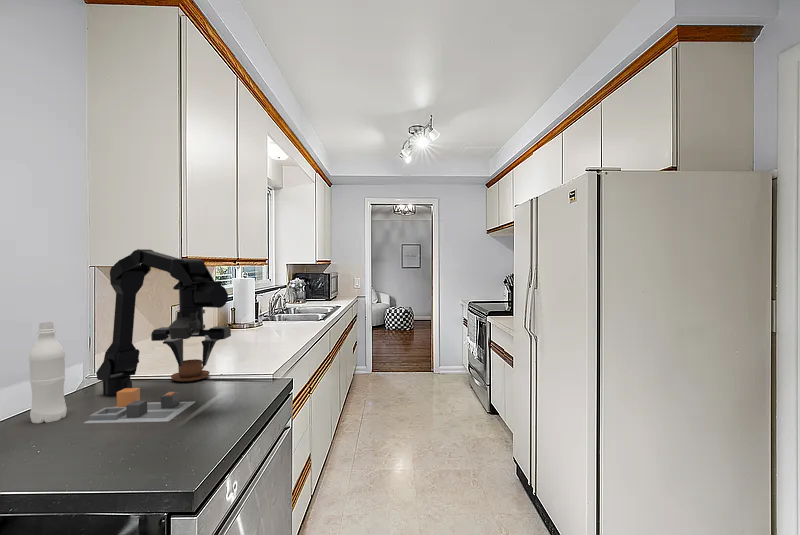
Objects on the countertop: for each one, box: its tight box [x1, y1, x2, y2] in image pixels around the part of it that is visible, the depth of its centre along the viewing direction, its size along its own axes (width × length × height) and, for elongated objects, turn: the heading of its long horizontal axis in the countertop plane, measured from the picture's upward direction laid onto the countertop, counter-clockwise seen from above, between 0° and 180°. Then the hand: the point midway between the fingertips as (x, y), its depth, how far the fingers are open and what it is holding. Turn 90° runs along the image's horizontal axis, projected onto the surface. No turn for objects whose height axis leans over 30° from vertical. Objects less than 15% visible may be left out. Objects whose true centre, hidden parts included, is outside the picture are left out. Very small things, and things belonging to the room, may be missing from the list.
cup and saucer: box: [170, 358, 210, 383], centre depth 161 cm, size 12×12×6 cm
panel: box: [84, 400, 196, 424], centre depth 121 cm, size 20×16×5 cm
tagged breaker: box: [160, 391, 181, 408], centre depth 125 cm, size 3×4×3 cm
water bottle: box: [28, 321, 68, 424], centre depth 117 cm, size 7×7×25 cm
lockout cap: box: [116, 387, 141, 407], centre depth 127 cm, size 4×4×4 cm
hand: (192, 366), depth 125 cm, fingers open, 6 cm apart
